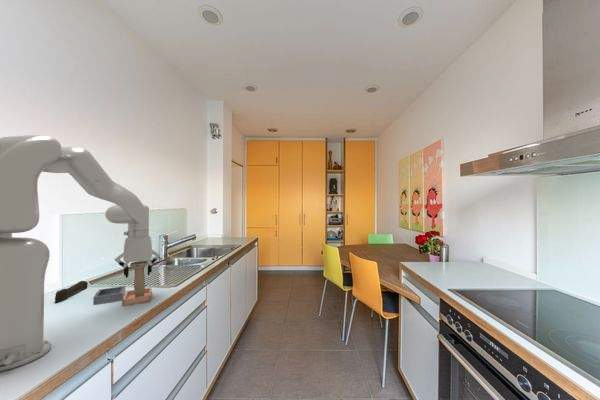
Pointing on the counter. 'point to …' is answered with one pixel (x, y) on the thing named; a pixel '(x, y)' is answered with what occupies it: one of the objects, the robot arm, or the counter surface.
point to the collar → (109, 295)
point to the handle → (139, 277)
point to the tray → (131, 299)
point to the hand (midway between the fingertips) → (138, 275)
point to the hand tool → (70, 291)
